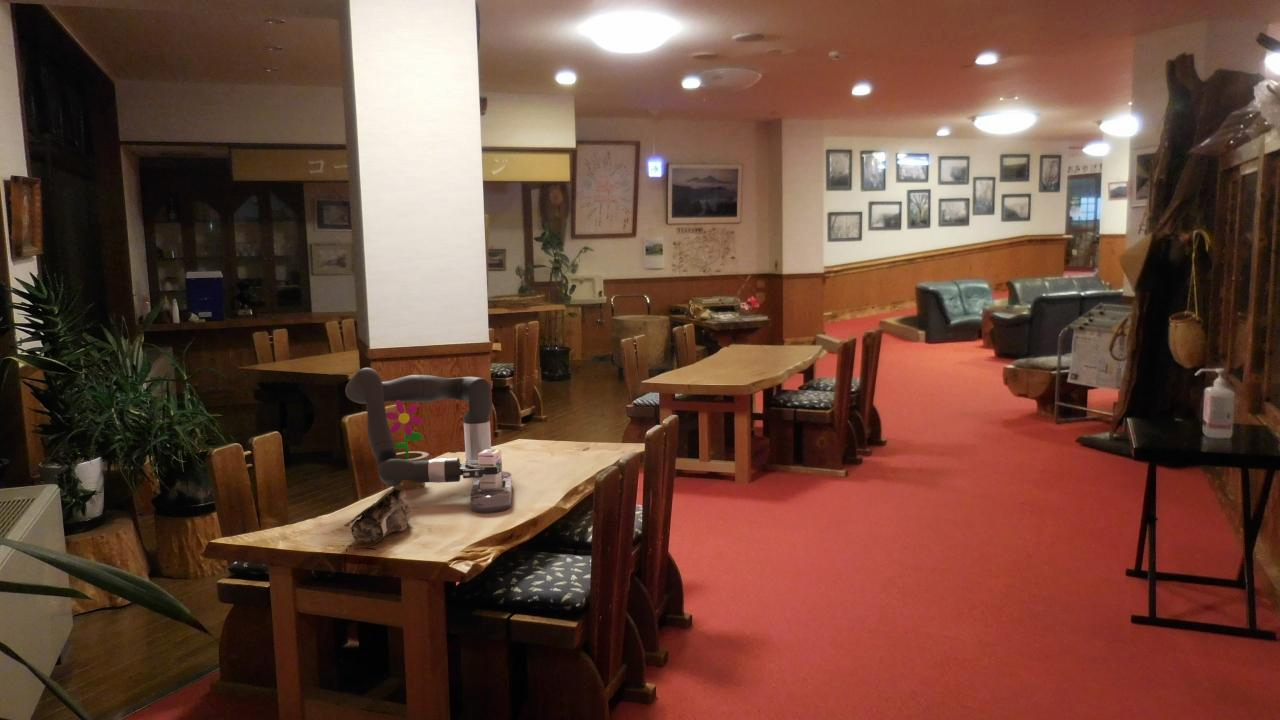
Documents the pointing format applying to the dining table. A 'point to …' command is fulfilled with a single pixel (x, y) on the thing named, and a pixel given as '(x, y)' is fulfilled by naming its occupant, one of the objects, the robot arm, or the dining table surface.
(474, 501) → the link
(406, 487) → the flowerpot
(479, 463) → the syrup box
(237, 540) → the dining table surface
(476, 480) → the link
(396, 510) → the hollow geode rock
